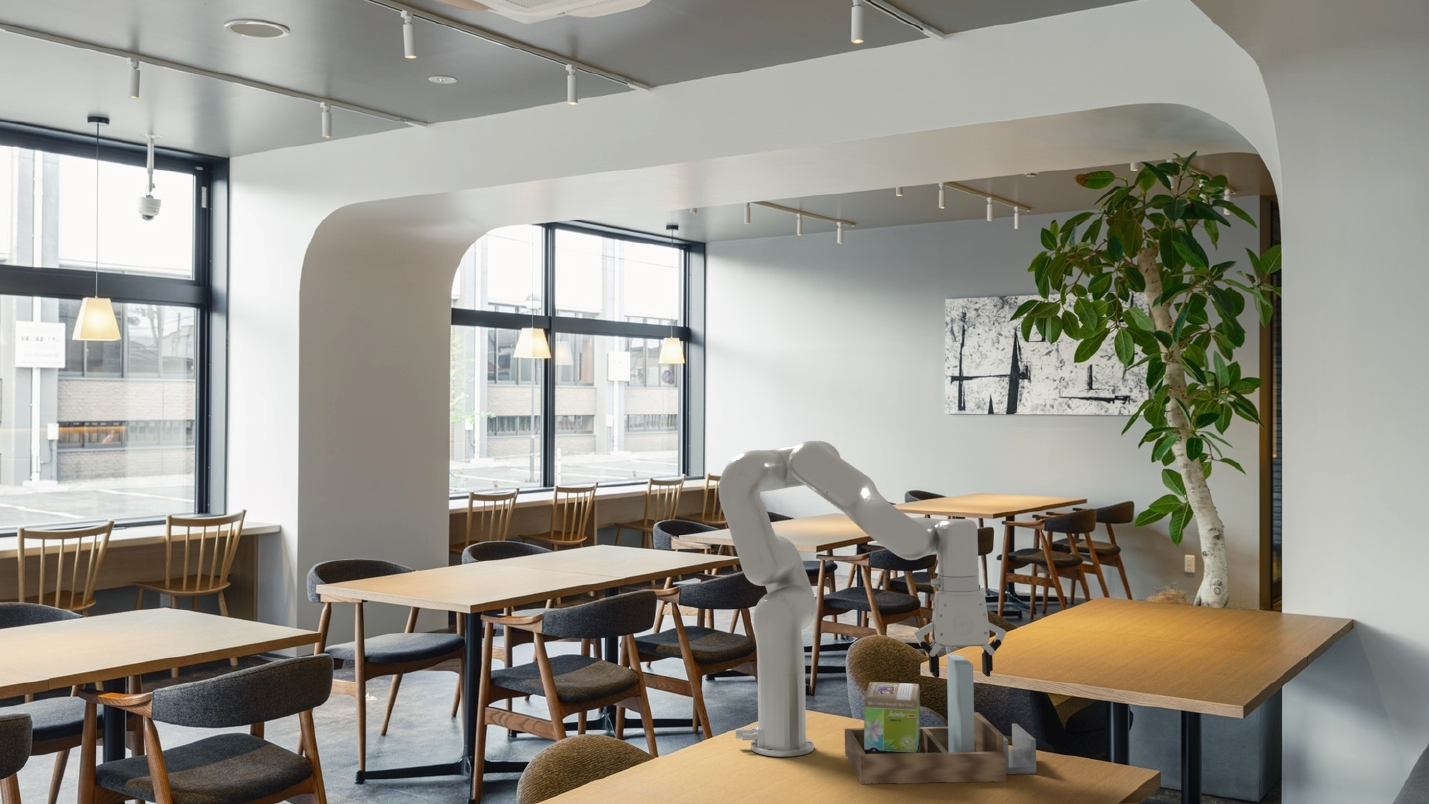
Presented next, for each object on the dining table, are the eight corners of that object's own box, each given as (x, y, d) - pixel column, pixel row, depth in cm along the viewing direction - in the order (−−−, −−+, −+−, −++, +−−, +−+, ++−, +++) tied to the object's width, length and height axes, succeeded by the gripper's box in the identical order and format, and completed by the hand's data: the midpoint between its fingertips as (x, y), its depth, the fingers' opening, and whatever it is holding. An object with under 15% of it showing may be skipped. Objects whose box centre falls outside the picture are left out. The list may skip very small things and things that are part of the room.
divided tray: (861, 784, 207) (860, 739, 207) (844, 754, 227) (844, 713, 227) (1006, 781, 208) (1005, 736, 208) (977, 751, 228) (976, 710, 228)
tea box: (918, 781, 209) (917, 698, 209) (863, 778, 211) (861, 696, 211) (921, 758, 223) (919, 681, 224) (868, 756, 225) (867, 679, 226)
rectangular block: (961, 774, 212) (959, 664, 213) (948, 759, 222) (946, 654, 223) (974, 774, 212) (973, 664, 213) (961, 759, 222) (959, 654, 223)
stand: (1004, 774, 212) (1003, 740, 212) (986, 756, 224) (985, 724, 224) (1036, 773, 212) (1035, 739, 213) (1017, 755, 224) (1016, 723, 225)
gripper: (917, 588, 215) (919, 681, 214) (1009, 586, 215) (1012, 678, 214) (909, 583, 222) (911, 673, 221) (998, 581, 223) (1000, 670, 222)
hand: (961, 675), depth 218 cm, fingers open, 9 cm apart
